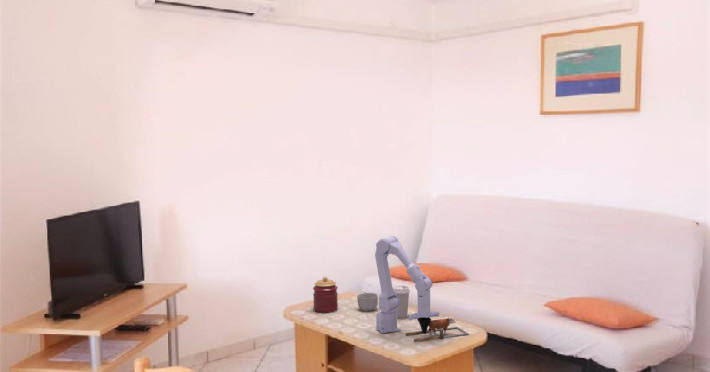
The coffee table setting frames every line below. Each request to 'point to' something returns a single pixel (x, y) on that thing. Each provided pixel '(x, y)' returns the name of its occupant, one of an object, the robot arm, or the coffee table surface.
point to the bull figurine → (440, 324)
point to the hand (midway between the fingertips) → (424, 333)
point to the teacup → (367, 301)
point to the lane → (454, 335)
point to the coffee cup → (402, 300)
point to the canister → (325, 296)
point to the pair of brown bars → (426, 337)
